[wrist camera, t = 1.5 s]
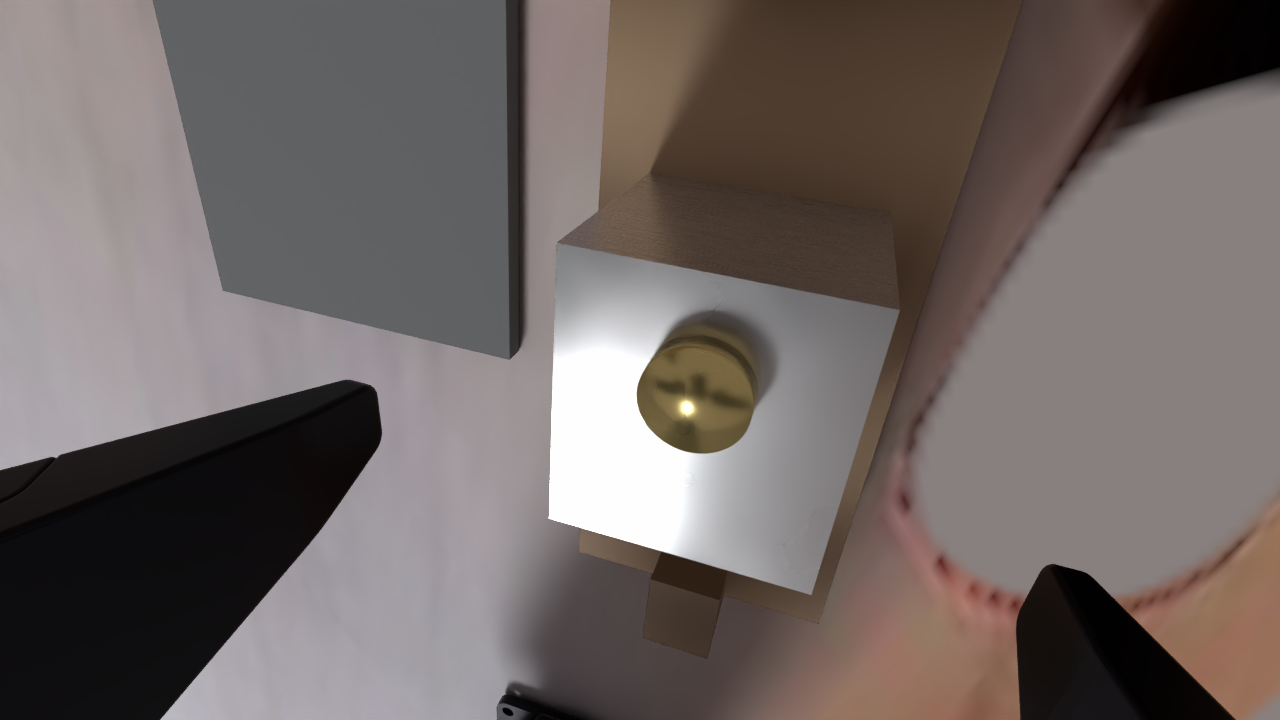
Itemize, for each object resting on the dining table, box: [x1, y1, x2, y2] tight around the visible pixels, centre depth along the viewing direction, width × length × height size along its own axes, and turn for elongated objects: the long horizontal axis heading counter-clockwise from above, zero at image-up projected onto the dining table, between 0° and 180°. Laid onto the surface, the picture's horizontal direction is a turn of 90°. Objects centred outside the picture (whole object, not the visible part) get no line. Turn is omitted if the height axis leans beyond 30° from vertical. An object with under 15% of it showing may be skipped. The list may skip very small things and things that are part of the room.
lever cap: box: [549, 172, 900, 595], centre depth 11 cm, size 5×4×5 cm
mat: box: [153, 0, 519, 360], centre depth 18 cm, size 11×10×1 cm
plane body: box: [579, 0, 1023, 659], centre depth 14 cm, size 17×7×5 cm, turn 175°
